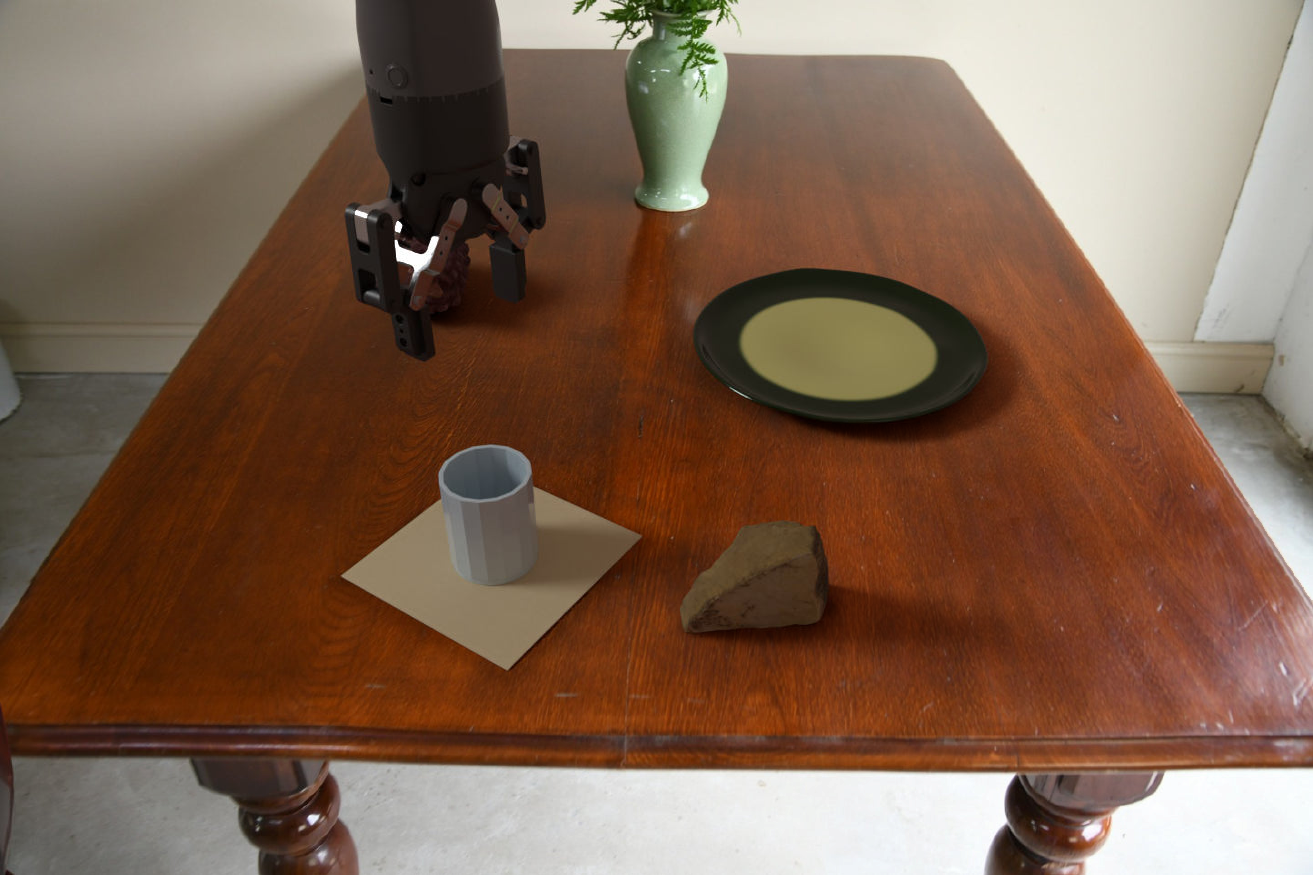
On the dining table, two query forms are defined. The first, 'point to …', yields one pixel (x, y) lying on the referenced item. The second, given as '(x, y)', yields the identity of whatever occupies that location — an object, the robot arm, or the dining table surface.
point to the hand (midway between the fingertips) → (466, 326)
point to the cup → (489, 514)
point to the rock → (761, 581)
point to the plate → (840, 346)
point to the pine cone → (444, 278)
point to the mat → (494, 614)
